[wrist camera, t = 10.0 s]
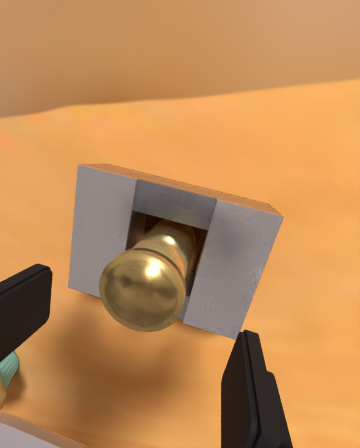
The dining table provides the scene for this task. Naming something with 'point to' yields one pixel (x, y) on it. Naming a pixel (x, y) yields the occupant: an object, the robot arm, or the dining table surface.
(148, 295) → the brass capped cylinder
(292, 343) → the dining table surface
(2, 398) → the cupcake
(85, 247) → the jig
